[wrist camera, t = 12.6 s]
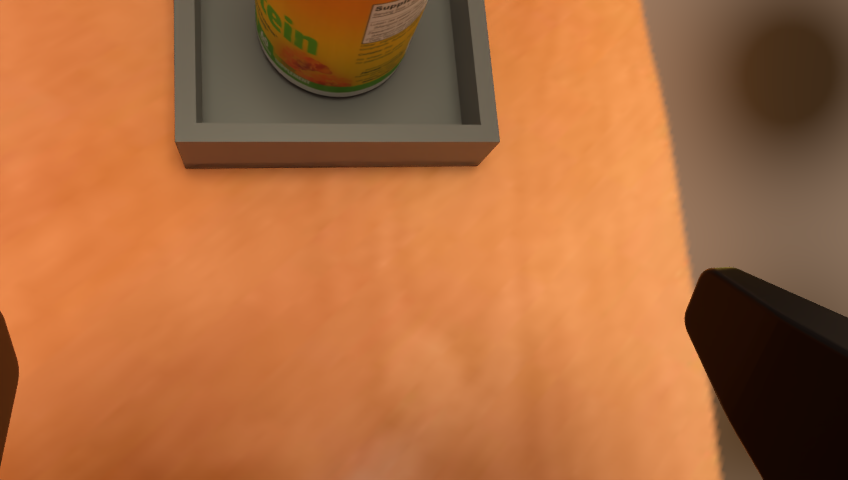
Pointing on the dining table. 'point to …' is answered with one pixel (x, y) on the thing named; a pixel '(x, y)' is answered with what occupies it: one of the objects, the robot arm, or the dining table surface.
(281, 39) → the supplement bottle
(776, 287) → the robot arm
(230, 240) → the dining table surface
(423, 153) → the charcoal tray
